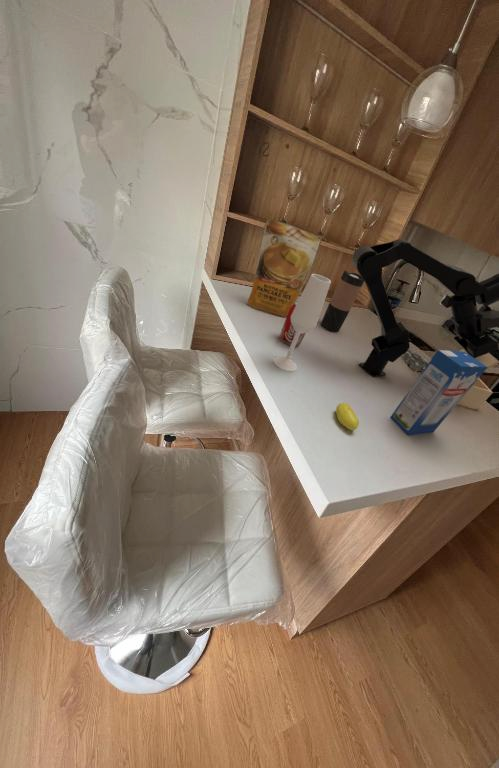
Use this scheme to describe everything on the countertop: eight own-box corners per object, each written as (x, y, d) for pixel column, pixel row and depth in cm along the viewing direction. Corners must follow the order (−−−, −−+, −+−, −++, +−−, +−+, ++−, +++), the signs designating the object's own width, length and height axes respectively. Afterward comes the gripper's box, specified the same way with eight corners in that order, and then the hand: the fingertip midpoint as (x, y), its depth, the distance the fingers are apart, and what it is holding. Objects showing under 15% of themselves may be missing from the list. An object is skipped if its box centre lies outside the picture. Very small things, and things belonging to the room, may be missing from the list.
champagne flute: (301, 367, 89) (340, 283, 76) (287, 373, 85) (325, 284, 71) (283, 355, 92) (317, 271, 79) (268, 359, 88) (302, 272, 74)
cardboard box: (447, 401, 99) (462, 383, 95) (431, 379, 109) (444, 362, 105) (476, 410, 100) (492, 392, 96) (458, 387, 110) (472, 371, 106)
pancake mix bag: (243, 298, 119) (267, 216, 104) (292, 314, 121) (323, 235, 106) (241, 305, 113) (266, 219, 98) (293, 321, 115) (326, 239, 100)
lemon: (345, 411, 78) (352, 399, 76) (357, 436, 72) (366, 423, 70) (329, 409, 77) (336, 396, 75) (340, 433, 71) (348, 420, 69)
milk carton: (407, 435, 78) (461, 366, 67) (389, 417, 82) (437, 349, 71) (433, 432, 82) (488, 367, 71) (415, 415, 87) (464, 351, 76)
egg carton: (429, 376, 112) (436, 366, 110) (409, 370, 111) (416, 360, 109) (417, 360, 121) (424, 351, 118) (399, 355, 120) (405, 345, 117)
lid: (463, 382, 95) (462, 380, 95) (445, 361, 105) (444, 360, 105) (499, 362, 91) (498, 360, 91) (476, 343, 101) (475, 341, 101)
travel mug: (335, 335, 117) (362, 281, 106) (316, 325, 119) (340, 271, 108) (342, 330, 122) (367, 278, 112) (324, 321, 125) (347, 269, 114)
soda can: (275, 340, 99) (289, 303, 92) (282, 333, 104) (296, 297, 98) (296, 350, 97) (312, 313, 91) (302, 342, 103) (317, 307, 97)
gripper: (519, 313, 80) (525, 363, 87) (479, 288, 95) (486, 332, 102) (469, 332, 83) (479, 378, 90) (438, 305, 98) (448, 347, 106)
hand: (474, 357), depth 97 cm, fingers closed, pressing on lid
